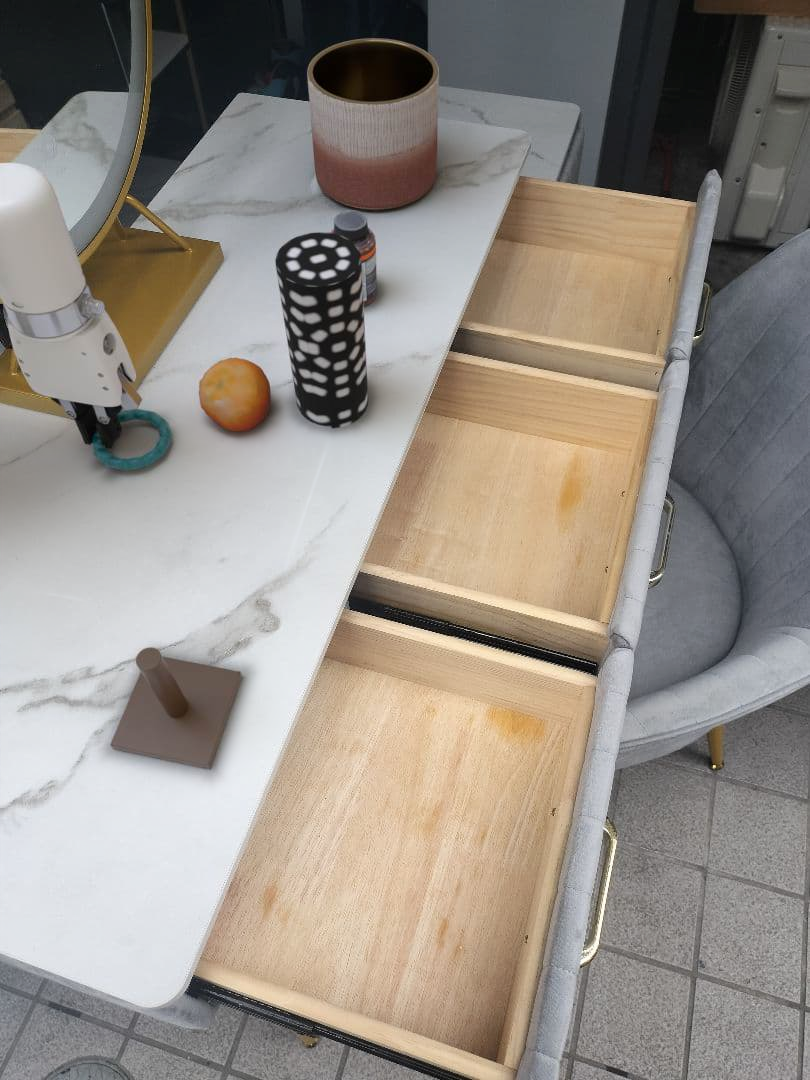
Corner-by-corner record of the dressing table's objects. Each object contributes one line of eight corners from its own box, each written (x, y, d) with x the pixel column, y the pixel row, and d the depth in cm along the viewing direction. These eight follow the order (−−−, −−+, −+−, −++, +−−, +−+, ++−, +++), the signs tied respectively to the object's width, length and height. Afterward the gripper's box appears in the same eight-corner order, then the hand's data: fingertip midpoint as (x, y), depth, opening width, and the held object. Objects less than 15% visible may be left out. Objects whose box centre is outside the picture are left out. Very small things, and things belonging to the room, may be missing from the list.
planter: (338, 138, 127) (330, 29, 114) (448, 156, 124) (454, 46, 111) (299, 204, 117) (286, 93, 104) (418, 224, 115) (420, 114, 102)
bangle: (81, 464, 88) (78, 457, 88) (112, 409, 93) (110, 401, 92) (154, 477, 88) (152, 470, 87) (182, 421, 92) (180, 414, 91)
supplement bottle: (322, 298, 106) (314, 221, 96) (351, 275, 109) (346, 197, 99) (357, 317, 104) (353, 240, 94) (386, 293, 107) (385, 216, 97)
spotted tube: (311, 438, 92) (292, 296, 76) (287, 389, 97) (263, 245, 80) (379, 416, 94) (374, 272, 78) (352, 369, 99) (342, 224, 82)
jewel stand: (113, 749, 72) (71, 699, 63) (151, 659, 77) (117, 600, 68) (210, 770, 71) (182, 722, 62) (242, 677, 76) (220, 619, 67)
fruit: (300, 396, 94) (265, 371, 87) (260, 451, 95) (222, 431, 87) (254, 362, 97) (216, 335, 90) (216, 416, 98) (175, 393, 90)
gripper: (145, 291, 77) (183, 424, 92) (-10, 266, 78) (52, 401, 94) (113, 344, 73) (158, 474, 88) (-50, 316, 74) (22, 449, 89)
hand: (103, 436), depth 91 cm, fingers closed on bangle, 1 cm apart
